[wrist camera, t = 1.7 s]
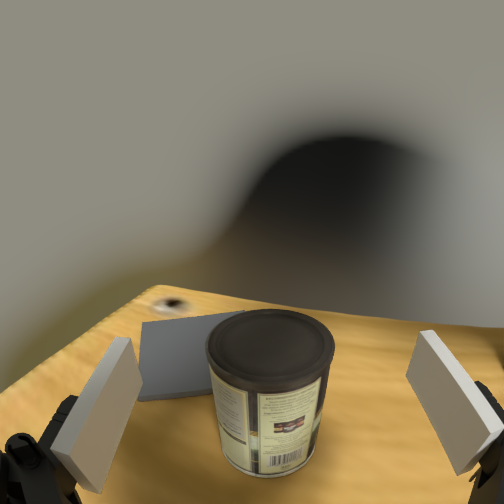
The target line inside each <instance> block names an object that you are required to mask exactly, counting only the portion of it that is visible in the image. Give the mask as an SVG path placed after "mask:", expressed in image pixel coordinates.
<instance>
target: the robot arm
mask: <svg viewBox="0 0 504 504" xmlns="http://www.w3.org/2000/svg"><path fill="white" fill-rule="evenodd" d="M406 377H407V379H408V381H409V383H410V384H411V386H412V388H413V390H414V392H415V393H416V395H417V397H418V399H419V401H420V403H421V405H422V406H423V408H424V410H425V412H426V414H427V416H428V418H429V420H430V422H431V424H432V426H433V427H434V429H435V431H436V433H437V435H438V437H439V439H440V441H441V443H442V445H443V447H444V449H445V452H446V454H447V456H448V458H449V460H450V462H451V464H452V466H453V468H454V470H455V473H456V475H457V476H458V475H461V474H463V473H465V472H468V471H470V470H472V469H473V467H474V466H475V465H476V464H477V463H478V461H479V463H480V465H481V467H480V468H479V469H478V470H477V471H476V472H475V473H474V475H473V476H472V477H471V478H470V480H469V482H471V481H472V480H473V479H474V478H475V477H476V479H475V482H474V486H473V489H472V492H471V496H470V499H469V502H468V504H504V410H503V408H502V407H501V406H500V404H499V403H497V400H496V399H495V397H494V396H492V393H491V392H490V391H489V389H488V388H487V387H486V386H485V385H483V384H482V383H481V382H479V381H475V382H473V380H472V379H471V378H470V376H469V375H468V374H467V372H466V371H465V370H464V368H463V367H462V366H461V365H460V363H459V362H458V361H457V359H456V358H455V357H454V356H453V354H452V353H451V352H450V350H449V349H448V348H447V347H446V345H445V344H444V343H443V342H442V340H441V339H440V338H439V337H438V336H437V334H436V333H435V332H434V331H433V330H426V331H420V332H419V335H418V339H417V342H416V345H415V349H414V352H413V355H412V358H411V361H410V364H409V367H408V370H407V373H406ZM142 384H143V381H142V377H141V374H140V371H139V367H138V364H137V360H136V356H135V353H134V349H133V345H132V341H131V338H124V337H115V339H114V340H113V342H112V343H111V345H110V346H109V348H108V350H107V351H106V353H105V354H104V356H103V358H102V359H101V361H100V362H99V364H98V366H97V367H96V369H95V371H94V372H93V374H92V376H91V377H90V379H89V381H88V382H87V384H86V386H85V387H84V389H83V391H82V392H81V394H80V396H79V397H78V396H74V395H70V396H69V397H67V398H66V399H65V400H64V401H62V402H61V404H60V406H59V407H58V409H57V411H56V413H55V414H54V416H53V417H52V421H50V422H49V424H48V426H47V427H46V429H45V431H44V433H43V434H42V436H41V438H40V440H39V441H38V443H37V442H36V441H35V440H34V438H33V437H32V436H30V435H29V434H26V433H17V434H15V435H12V436H11V437H10V438H9V439H8V440H7V442H6V444H5V452H6V453H3V452H2V451H1V450H0V504H82V502H81V500H80V497H79V495H78V493H77V491H76V490H75V486H76V483H78V484H79V485H80V486H81V487H82V488H83V489H85V490H88V491H91V492H95V493H98V494H101V492H102V489H103V486H104V484H105V481H106V478H107V475H108V472H109V470H110V467H111V464H112V461H113V459H114V456H115V453H116V451H117V448H118V445H119V443H120V440H121V437H122V435H123V432H124V430H125V427H126V424H127V422H128V419H129V417H130V414H131V412H132V409H133V407H134V404H135V402H136V399H137V397H138V394H139V392H140V389H141V387H142Z"/></svg>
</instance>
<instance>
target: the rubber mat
mask: <svg viewBox="0 0 504 504" xmlns="http://www.w3.org/2000/svg"><path fill="white" fill-rule="evenodd" d="M243 312H245V310H243V311H236V312H228V313H221V314H213V315H205V316H197V317H188V318H180V319H171V320H161V321H152V322H142V331H141V342H140V355H139V371H140V374H141V377H142V381H143V384H142V387H141V389H140V392H139V394H138V400H139V401H151V400H163V399H173V398H182V397H191V396H199V395H206V394H213V388H212V382H211V375H210V368H209V362H208V360H207V356H206V352H205V342H206V339H207V336H208V334H209V333H210V331H211V330H212V329H213V328H214V327H215V326H216V325H217V324H219V323H220V322H221V321H223V320H225V319H227V318H229V317H231V316H233V315H236V314H239V313H243Z"/></svg>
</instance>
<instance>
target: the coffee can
mask: <svg viewBox="0 0 504 504" xmlns="http://www.w3.org/2000/svg"><path fill="white" fill-rule="evenodd" d="M334 351H335V343H334V339H333V336H332V334H331V333H330V331H329V330H328V329H327V328H326V326H324V325H323V324H322V323H321V322H319V321H318V320H316V319H314V318H312V317H310V316H307V315H305V314H302V313H298V312H294V311H289V310H281V309H260V310H251V311H246V312H243V313H239V314H236V315H233V316H231V317H229V318H227V319H225V320H223V321H221V322H220V323H219V324H217V325H216V326H215V327H214V328H213V329H212V330H211V331H210V333H209V334H208V336H207V339H206V342H205V352H206V356H207V360H208V362H209V368H210V375H211V382H212V388H213V395H214V401H215V407H216V414H217V420H218V426H219V432H220V437H221V448H222V451H223V454H224V456H225V457H226V459H227V460H228V461H229V463H230V464H231V465H232V466H233V467H235V468H236V469H238V470H239V471H241V472H243V473H245V474H248V475H251V476H255V477H260V478H275V477H281V476H285V475H288V474H290V473H293V472H295V471H296V470H298V469H300V468H301V467H302V466H304V465H305V464H306V463H307V462H308V460H309V459H310V458H311V456H312V455H313V452H314V450H315V446H316V438H317V434H318V429H319V424H320V419H321V414H322V409H323V403H324V398H325V393H326V388H327V381H328V376H329V370H330V364H331V362H332V359H333V356H334Z"/></svg>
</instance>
